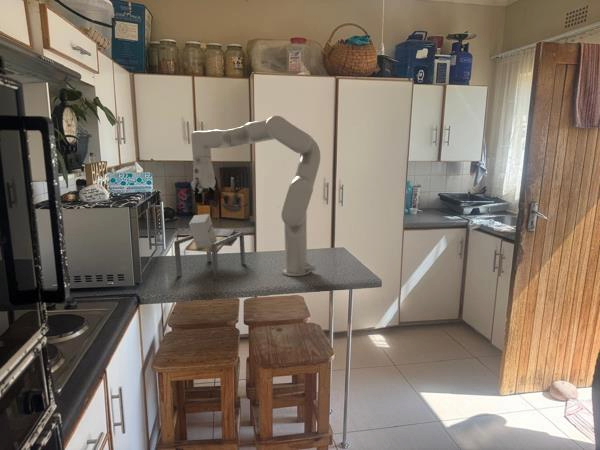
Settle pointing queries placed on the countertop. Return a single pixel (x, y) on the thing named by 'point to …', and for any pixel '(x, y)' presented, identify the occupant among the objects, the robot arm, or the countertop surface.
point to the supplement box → (202, 231)
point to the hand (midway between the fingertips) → (205, 201)
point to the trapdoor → (219, 236)
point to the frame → (214, 252)
